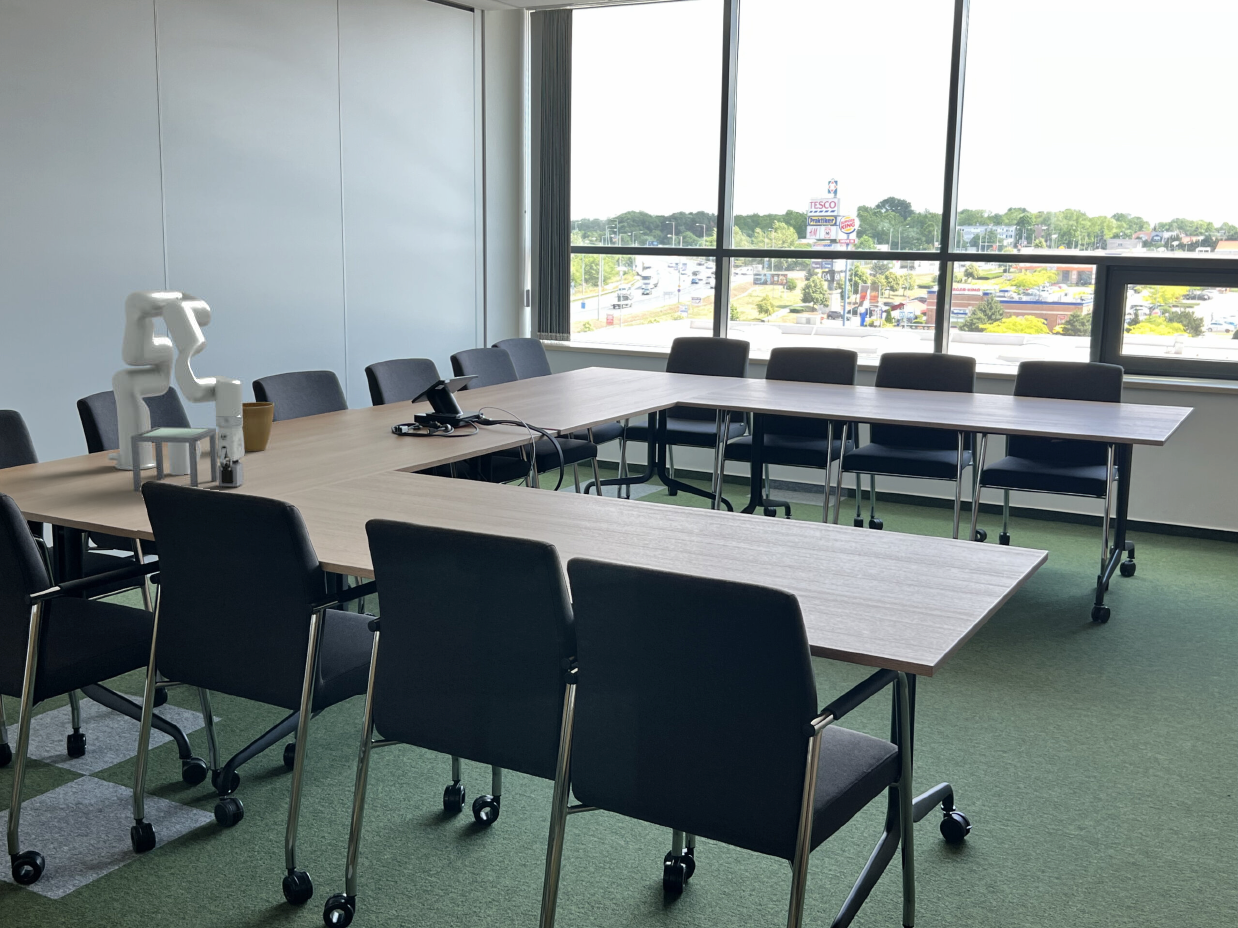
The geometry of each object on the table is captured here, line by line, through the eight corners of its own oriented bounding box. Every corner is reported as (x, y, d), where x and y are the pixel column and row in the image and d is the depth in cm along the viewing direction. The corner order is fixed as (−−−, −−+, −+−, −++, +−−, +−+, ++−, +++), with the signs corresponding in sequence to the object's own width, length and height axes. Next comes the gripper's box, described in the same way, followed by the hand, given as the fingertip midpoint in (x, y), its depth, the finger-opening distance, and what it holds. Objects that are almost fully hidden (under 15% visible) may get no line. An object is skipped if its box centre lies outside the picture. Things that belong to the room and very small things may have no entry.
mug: (174, 476, 352) (172, 438, 350) (166, 473, 357) (163, 435, 355) (206, 472, 359) (204, 435, 357) (197, 469, 364) (196, 432, 362)
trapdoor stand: (134, 490, 331) (130, 436, 328) (159, 478, 348) (156, 427, 345) (196, 492, 331) (193, 437, 328) (218, 480, 348) (215, 428, 345)
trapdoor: (141, 439, 330) (141, 435, 330) (161, 431, 344) (161, 428, 343) (189, 440, 330) (189, 436, 330) (207, 432, 344) (207, 429, 343)
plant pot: (275, 445, 410) (273, 401, 407) (276, 452, 396) (274, 406, 393) (231, 446, 405) (229, 402, 402) (231, 454, 391) (229, 407, 388)
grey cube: (218, 485, 338) (218, 465, 337) (225, 481, 343) (224, 462, 342) (237, 486, 338) (236, 466, 337) (243, 482, 343) (243, 462, 342)
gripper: (231, 426, 328) (233, 487, 332) (251, 417, 345) (253, 475, 349) (205, 425, 328) (208, 486, 332) (226, 416, 345) (228, 474, 349)
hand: (231, 480), depth 340 cm, fingers closed on grey cube, 5 cm apart
